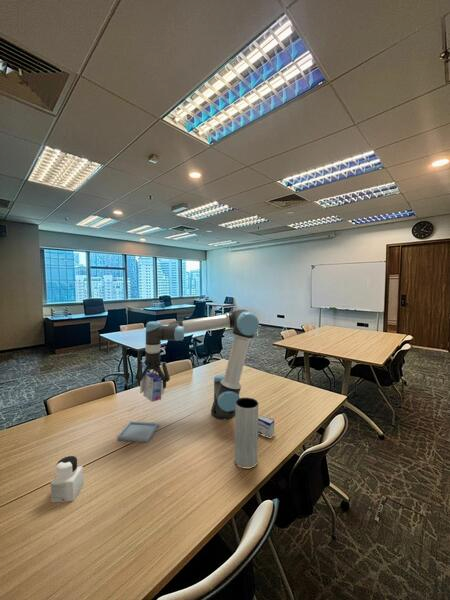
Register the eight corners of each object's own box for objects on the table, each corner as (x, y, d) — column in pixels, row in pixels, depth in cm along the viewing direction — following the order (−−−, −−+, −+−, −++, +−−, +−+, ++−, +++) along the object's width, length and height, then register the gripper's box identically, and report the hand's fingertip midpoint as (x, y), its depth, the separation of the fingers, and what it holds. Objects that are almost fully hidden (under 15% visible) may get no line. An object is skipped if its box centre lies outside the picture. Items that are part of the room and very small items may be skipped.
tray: (158, 426, 138) (158, 422, 138) (148, 442, 124) (148, 438, 124) (130, 424, 140) (130, 421, 140) (117, 440, 126) (117, 436, 126)
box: (256, 433, 133) (257, 418, 132) (261, 429, 136) (261, 414, 136) (270, 439, 128) (270, 423, 127) (274, 435, 131) (274, 419, 131)
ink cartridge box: (162, 399, 131) (162, 372, 130) (152, 402, 127) (152, 374, 126) (152, 392, 138) (152, 367, 137) (143, 395, 134) (143, 369, 133)
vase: (251, 473, 105) (252, 410, 103) (230, 463, 111) (231, 404, 109) (260, 459, 114) (262, 400, 112) (241, 451, 119) (242, 395, 117)
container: (62, 485, 98) (61, 453, 97) (83, 484, 99) (82, 452, 98) (50, 503, 90) (49, 468, 89) (73, 501, 91) (72, 467, 90)
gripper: (176, 351, 133) (175, 391, 135) (134, 348, 136) (134, 388, 137) (172, 355, 126) (171, 398, 128) (128, 352, 128) (127, 394, 130)
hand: (152, 393), depth 132 cm, fingers closed on ink cartridge box, 10 cm apart
